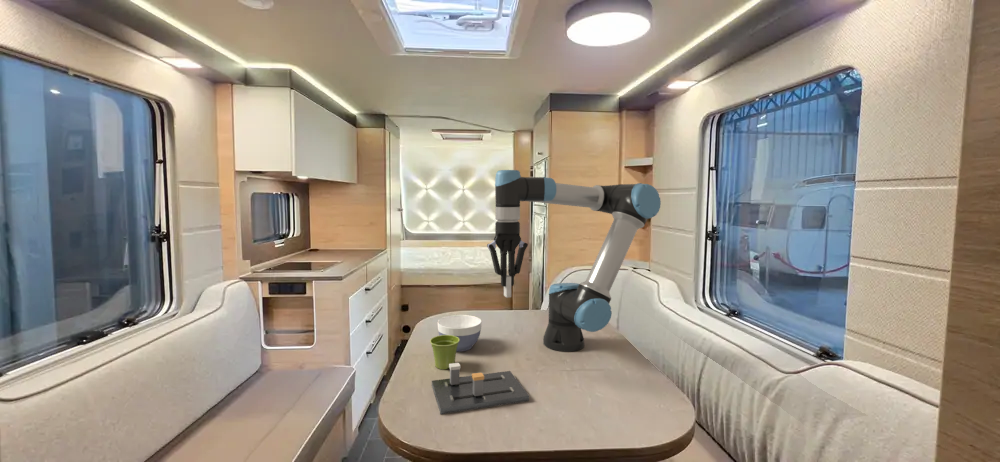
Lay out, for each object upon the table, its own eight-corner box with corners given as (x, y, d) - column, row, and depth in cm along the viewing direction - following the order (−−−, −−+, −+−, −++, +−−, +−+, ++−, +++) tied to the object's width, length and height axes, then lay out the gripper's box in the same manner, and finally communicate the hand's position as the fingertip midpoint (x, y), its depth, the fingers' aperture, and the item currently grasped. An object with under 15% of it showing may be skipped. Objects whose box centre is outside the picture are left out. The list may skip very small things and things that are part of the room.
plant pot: (454, 373, 125) (454, 346, 124) (425, 370, 127) (425, 343, 126) (462, 361, 134) (463, 336, 133) (436, 358, 136) (436, 333, 135)
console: (509, 375, 124) (509, 369, 124) (529, 400, 109) (529, 394, 109) (431, 385, 117) (431, 379, 116) (440, 414, 101) (440, 407, 101)
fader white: (458, 380, 116) (458, 362, 116) (460, 384, 114) (460, 366, 113) (448, 381, 115) (449, 363, 115) (450, 385, 113) (450, 367, 112)
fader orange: (481, 391, 110) (481, 372, 109) (483, 395, 108) (484, 376, 107) (471, 392, 109) (471, 373, 109) (473, 396, 107) (473, 377, 106)
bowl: (489, 344, 149) (490, 319, 149) (463, 359, 136) (463, 331, 135) (456, 336, 158) (456, 312, 157) (428, 348, 145) (428, 322, 144)
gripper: (522, 219, 129) (522, 291, 131) (483, 220, 125) (484, 295, 127) (532, 221, 122) (531, 297, 124) (491, 222, 118) (491, 301, 120)
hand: (507, 296), depth 125 cm, fingers closed
